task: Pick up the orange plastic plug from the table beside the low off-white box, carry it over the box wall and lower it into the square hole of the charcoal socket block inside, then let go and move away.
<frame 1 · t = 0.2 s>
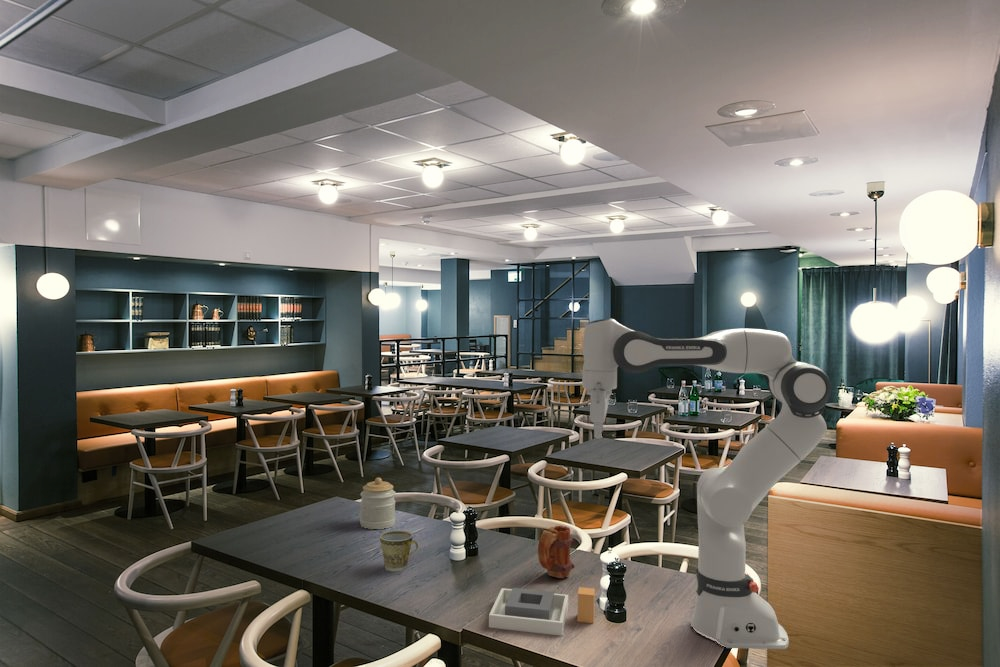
hand: (598, 434, 159), 47 cm above the table, tool pointing down, fingers open, 8 cm apart
mug: (553, 578, 184), on the table
plug: (585, 622, 156), on the table
socket block: (530, 616, 157), resting on walled box
ceramic cup: (399, 569, 189), on the table
walled box: (530, 620, 157), on the table
jar: (377, 525, 231), on the table
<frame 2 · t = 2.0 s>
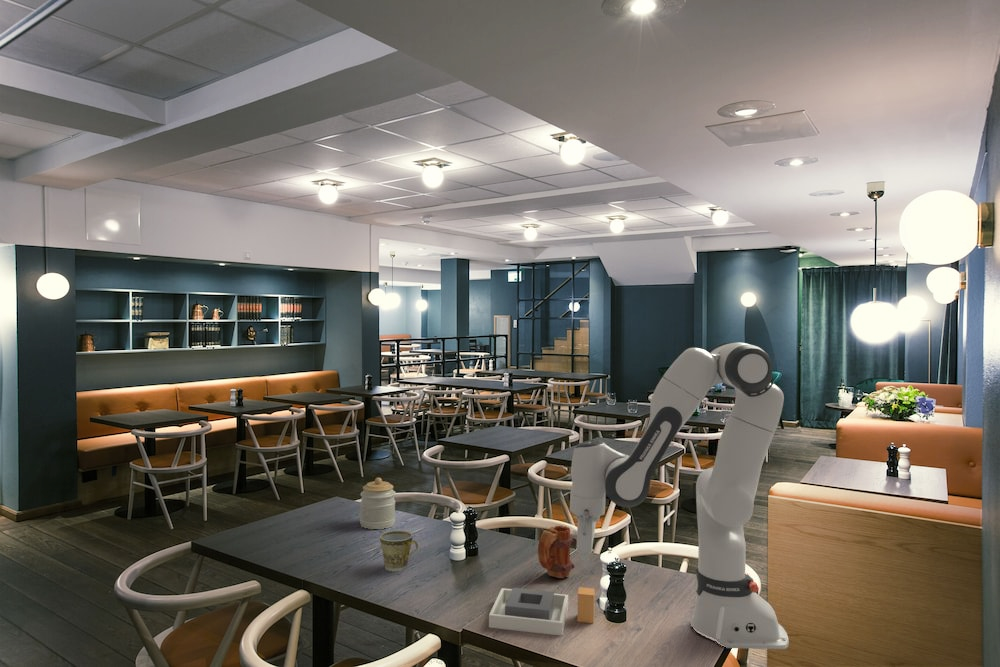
hand: (585, 559, 156), 16 cm above the table, tool pointing down, fingers open, 8 cm apart
nothing on the table moved.
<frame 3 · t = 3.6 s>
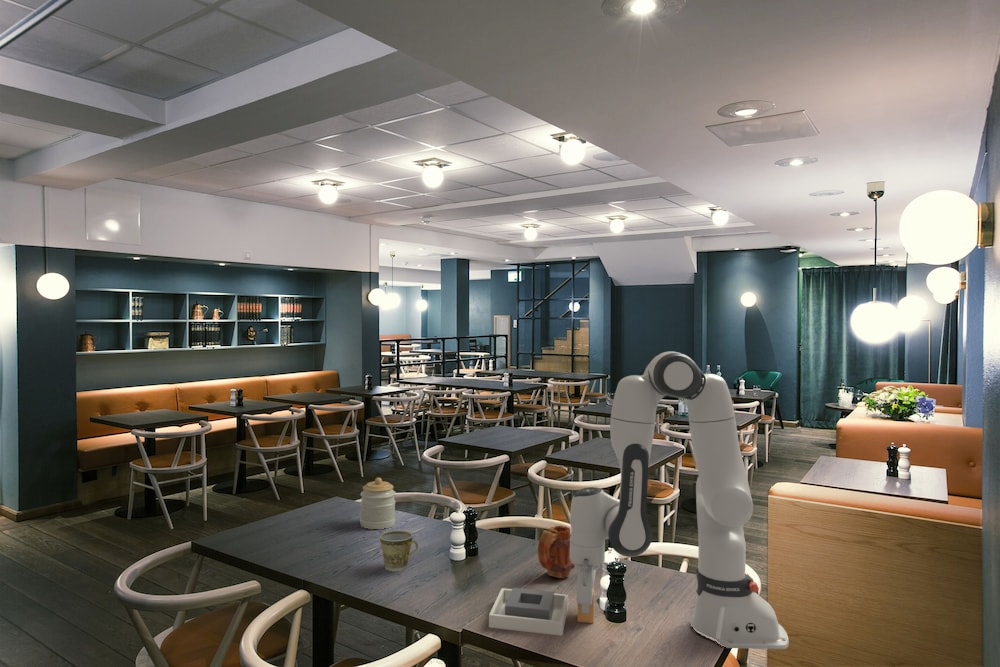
hand: (586, 607, 156), 4 cm above the table, tool pointing down, fingers closed on plug, 4 cm apart
plug: (585, 622, 156), on the table, touching gripper
everything else where it was.
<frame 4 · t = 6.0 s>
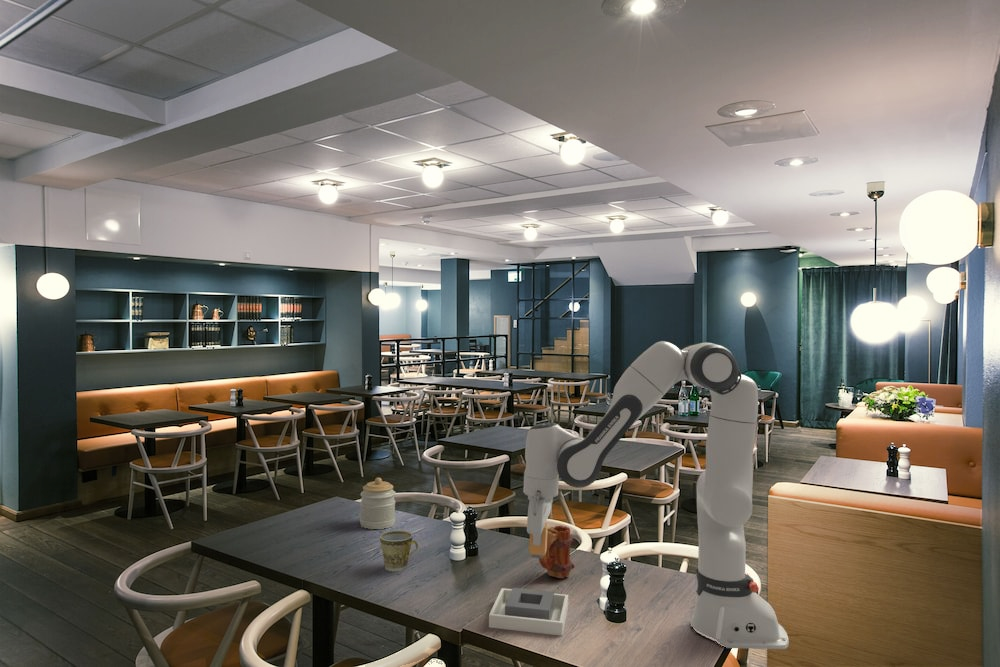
hand: (538, 540, 157), 20 cm above the table, tool pointing down, fingers closed on plug, 4 cm apart
plug: (537, 555, 157), point 16 cm above the table, touching gripper
everything else where it was.
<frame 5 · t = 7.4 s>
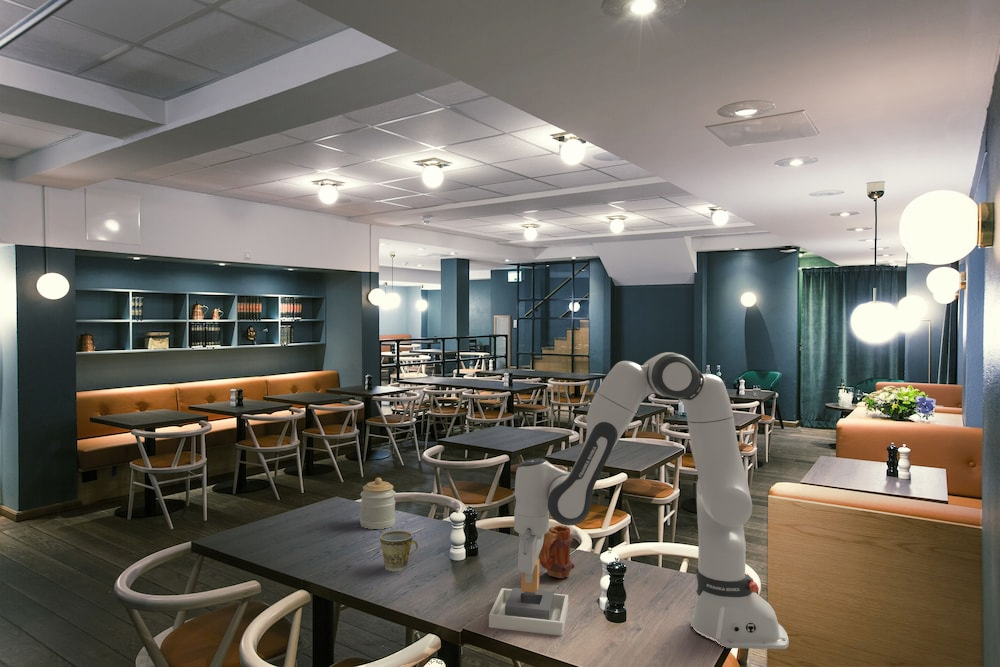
hand: (530, 577, 157), 11 cm above the table, tool pointing down, fingers closed on plug, 4 cm apart
plug: (530, 592, 157), point 7 cm above the table, touching gripper
everything else where it was.
when the fingers open (7 cm above the table, at t = 8.5 s): plug drops 2 cm, resting on walled box.
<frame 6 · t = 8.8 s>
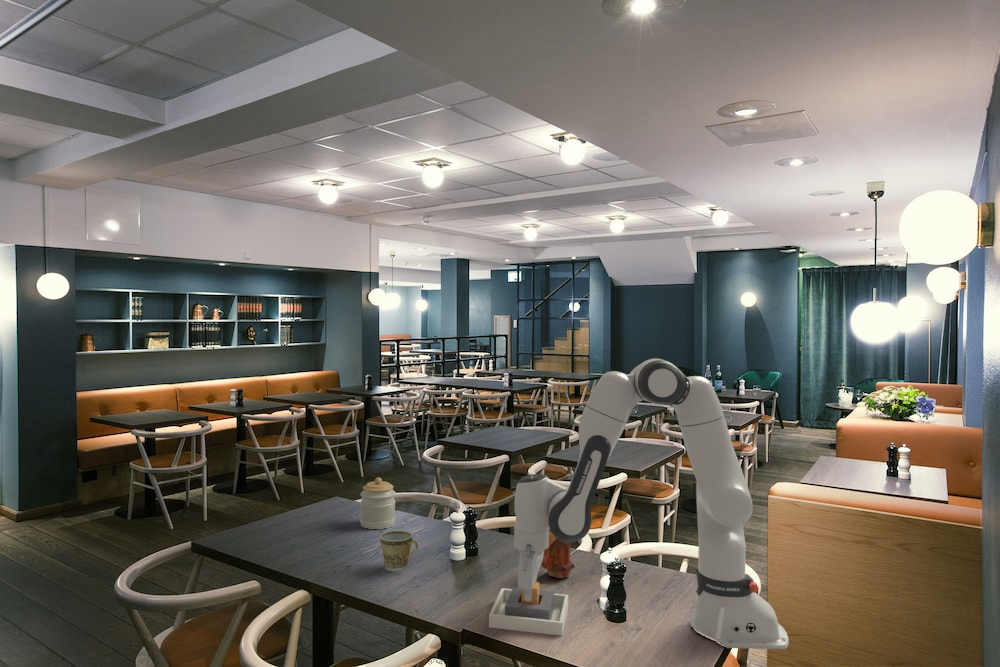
hand: (530, 593, 157), 7 cm above the table, tool pointing down, fingers open, 7 cm apart
plug: (530, 616, 157), point 1 cm above the table, touching walled box
everything else where it was.
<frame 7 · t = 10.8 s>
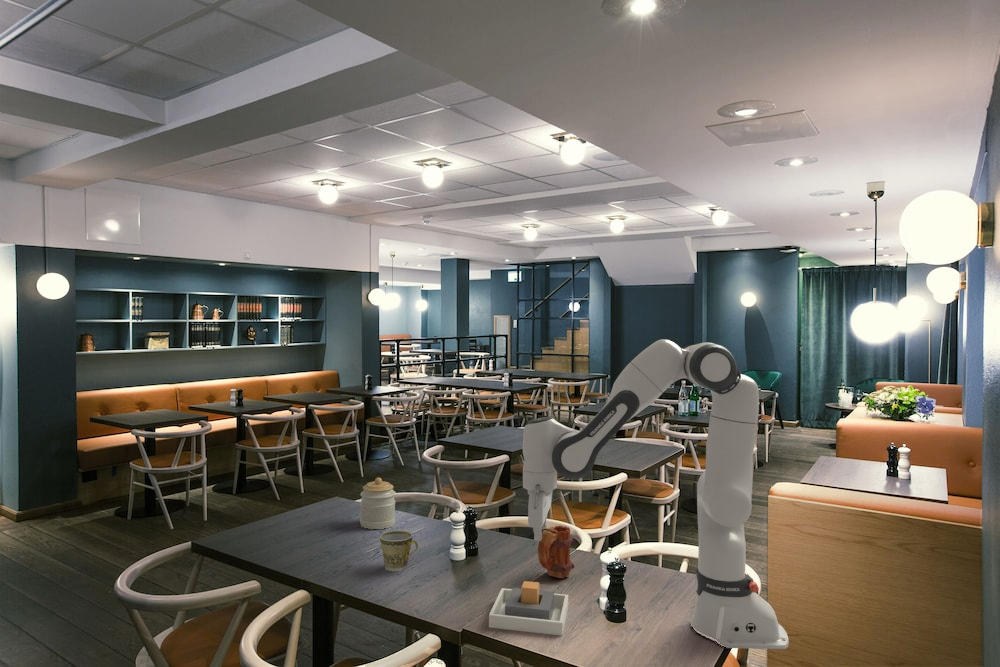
hand: (540, 534, 159), 21 cm above the table, tool pointing down, fingers open, 8 cm apart
nothing on the table moved.
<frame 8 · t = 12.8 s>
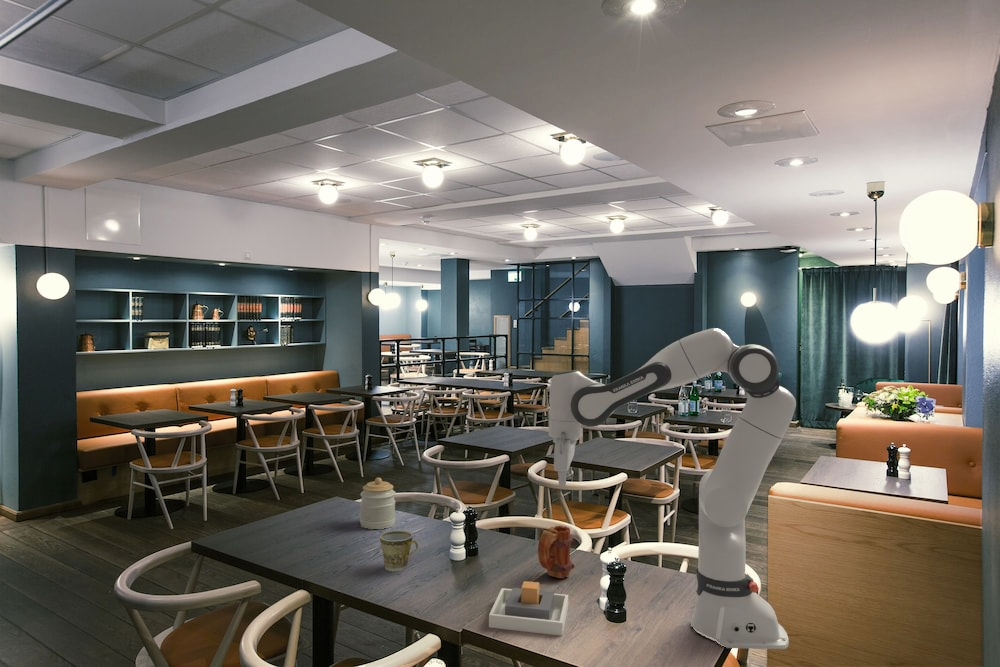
hand: (564, 480, 167), 33 cm above the table, tool pointing down, fingers open, 8 cm apart
nothing on the table moved.
at the end: plug 0.0 cm off-centre on the socket block, point 0.0 cm above the socket block's base; plug tilted 0°; the gripper is holding nothing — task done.
